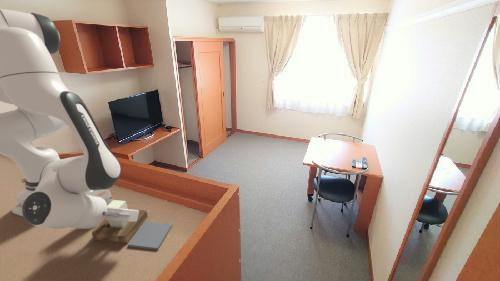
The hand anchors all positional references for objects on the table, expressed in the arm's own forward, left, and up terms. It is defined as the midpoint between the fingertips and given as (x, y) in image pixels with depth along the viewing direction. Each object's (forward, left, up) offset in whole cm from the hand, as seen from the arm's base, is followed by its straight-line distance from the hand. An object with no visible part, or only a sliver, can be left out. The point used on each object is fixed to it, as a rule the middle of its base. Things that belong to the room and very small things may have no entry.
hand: (119, 214), depth 79 cm
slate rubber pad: (+12, -3, -5) cm, 13 cm away
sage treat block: (0, -1, -5) cm, 5 cm away
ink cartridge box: (-11, +3, -6) cm, 13 cm away
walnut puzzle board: (0, -1, -5) cm, 5 cm away
